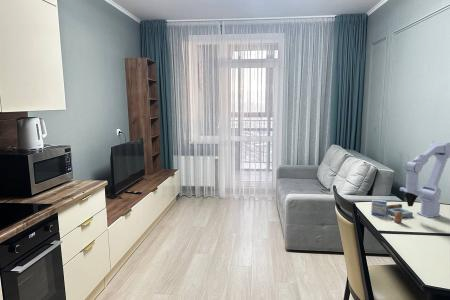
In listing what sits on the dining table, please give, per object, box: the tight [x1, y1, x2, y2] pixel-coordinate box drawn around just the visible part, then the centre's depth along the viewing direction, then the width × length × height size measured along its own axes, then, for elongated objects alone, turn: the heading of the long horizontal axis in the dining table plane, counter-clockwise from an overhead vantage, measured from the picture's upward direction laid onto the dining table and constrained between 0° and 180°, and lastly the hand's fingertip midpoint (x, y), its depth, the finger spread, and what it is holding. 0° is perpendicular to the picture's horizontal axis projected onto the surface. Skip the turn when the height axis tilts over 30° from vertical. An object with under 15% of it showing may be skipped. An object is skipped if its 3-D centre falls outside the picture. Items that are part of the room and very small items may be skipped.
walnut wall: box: [386, 203, 403, 209], centre depth 196 cm, size 14×4×4 cm, turn 105°
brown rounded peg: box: [394, 211, 403, 224], centre depth 178 cm, size 4×4×6 cm
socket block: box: [386, 207, 414, 219], centre depth 190 cm, size 10×10×2 cm
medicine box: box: [370, 198, 388, 217], centre depth 191 cm, size 8×4×9 cm, turn 68°
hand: (410, 206), depth 182 cm, fingers closed
